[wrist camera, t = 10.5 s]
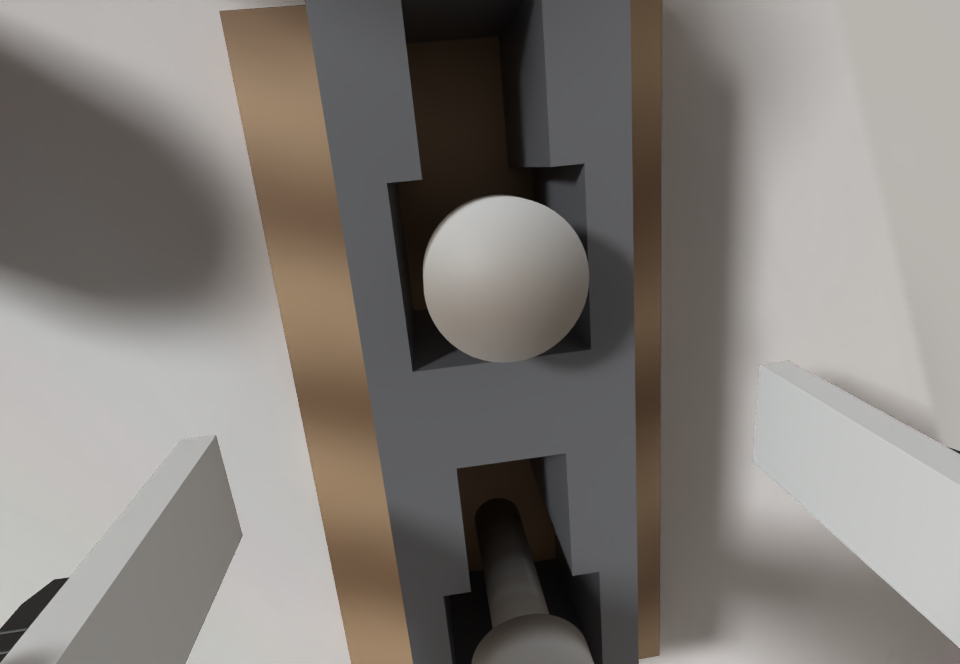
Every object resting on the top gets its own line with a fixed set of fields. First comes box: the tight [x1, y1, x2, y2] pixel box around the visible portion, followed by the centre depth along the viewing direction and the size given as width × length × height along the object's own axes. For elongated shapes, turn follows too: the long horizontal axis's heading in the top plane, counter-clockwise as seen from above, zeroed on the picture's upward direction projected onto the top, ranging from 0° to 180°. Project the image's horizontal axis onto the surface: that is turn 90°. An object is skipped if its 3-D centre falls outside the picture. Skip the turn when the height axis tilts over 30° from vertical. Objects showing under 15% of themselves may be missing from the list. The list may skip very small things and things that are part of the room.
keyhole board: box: [220, 0, 662, 664], centre depth 16 cm, size 24×12×8 cm, turn 5°
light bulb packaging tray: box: [305, 0, 639, 664], centre depth 15 cm, size 22×6×6 cm, turn 5°
